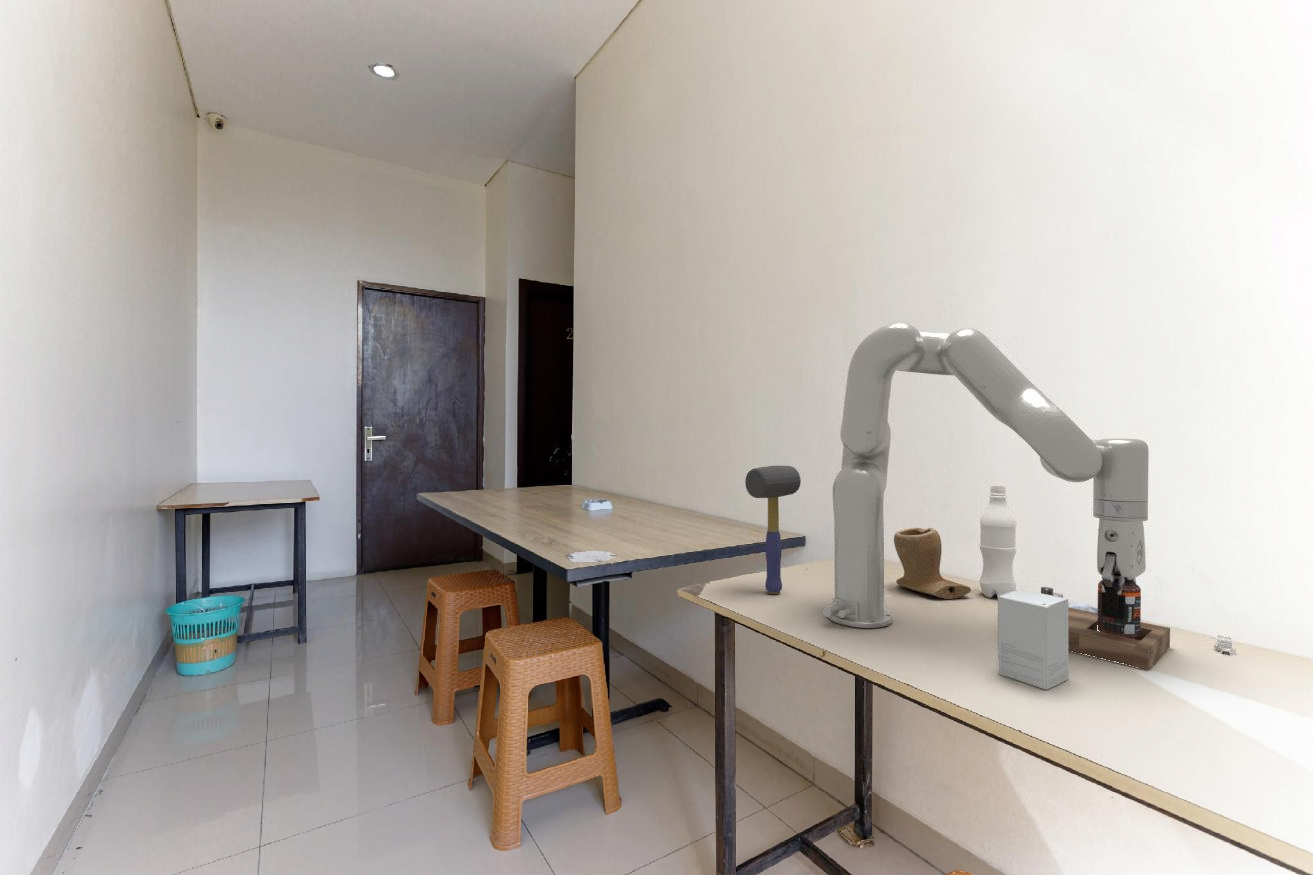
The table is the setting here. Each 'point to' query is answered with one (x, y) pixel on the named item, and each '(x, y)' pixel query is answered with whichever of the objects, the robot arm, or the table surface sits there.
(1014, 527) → the water bottle
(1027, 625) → the supplement box
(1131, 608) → the supplement bottle
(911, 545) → the tan boot-shaped piece
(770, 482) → the rubber mallet
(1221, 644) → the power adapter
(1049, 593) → the locking bolt
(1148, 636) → the socket block
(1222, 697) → the table surface
